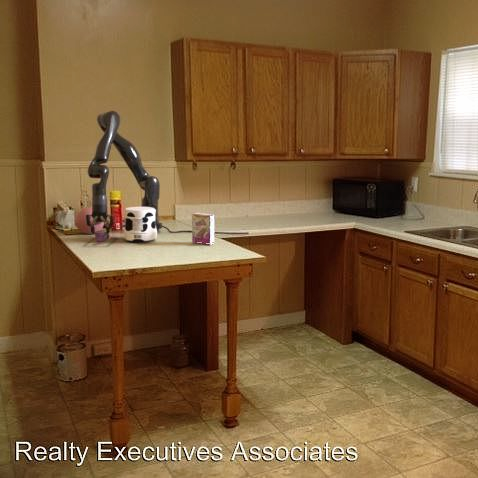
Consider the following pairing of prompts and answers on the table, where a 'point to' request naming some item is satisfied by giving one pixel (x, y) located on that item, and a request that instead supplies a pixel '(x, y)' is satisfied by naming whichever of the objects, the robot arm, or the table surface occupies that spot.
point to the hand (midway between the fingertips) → (100, 233)
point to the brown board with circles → (99, 242)
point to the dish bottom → (100, 239)
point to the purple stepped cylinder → (100, 233)
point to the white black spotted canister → (140, 224)
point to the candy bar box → (202, 228)
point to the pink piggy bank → (82, 222)
